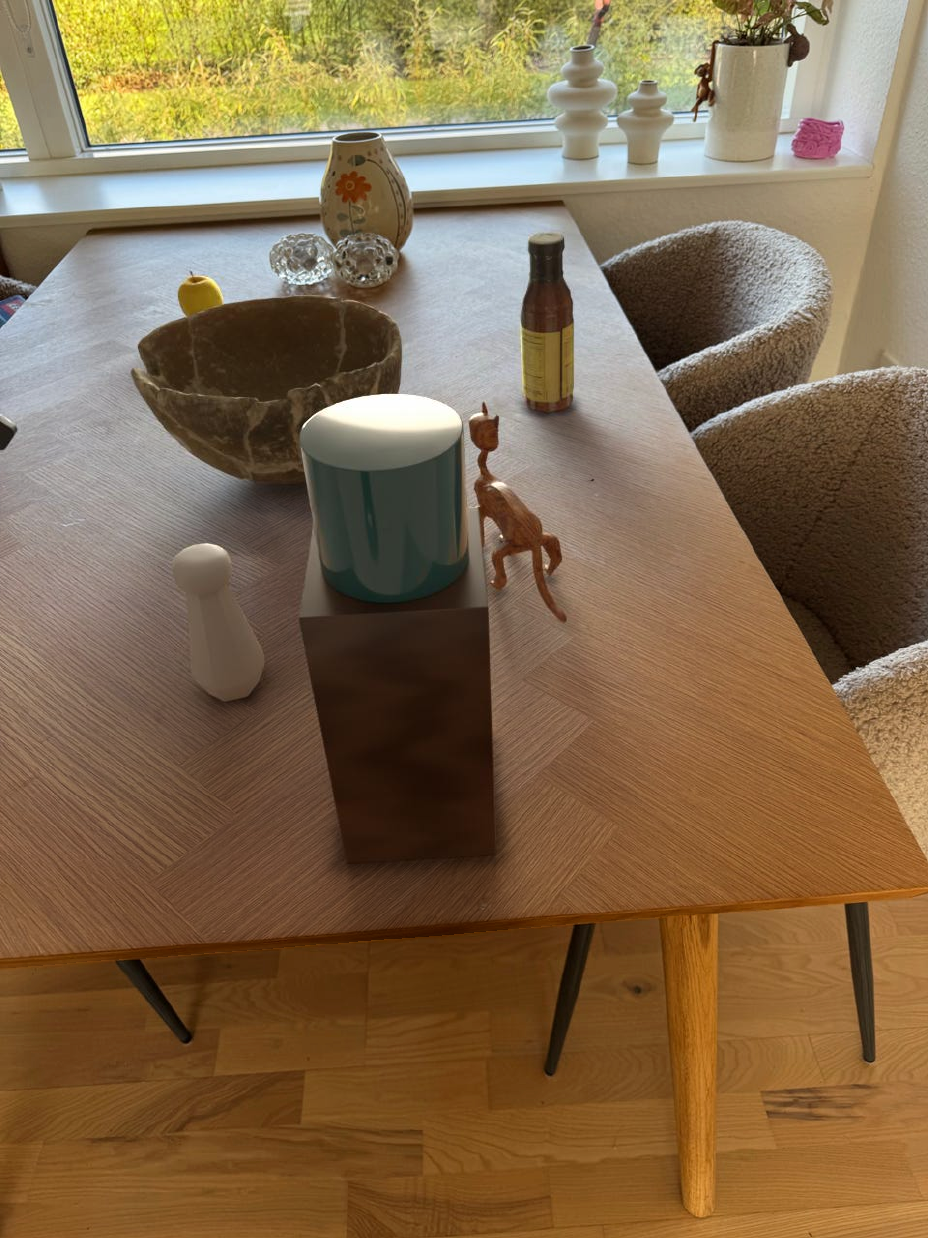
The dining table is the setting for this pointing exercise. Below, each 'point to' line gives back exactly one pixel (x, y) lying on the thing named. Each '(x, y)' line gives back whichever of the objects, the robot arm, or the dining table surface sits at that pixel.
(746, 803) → the dining table surface
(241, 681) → the salt shaker
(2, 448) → the robot arm
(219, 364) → the bowl
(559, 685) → the dining table surface
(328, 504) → the white-topped teal cylinder
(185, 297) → the apple
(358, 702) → the stand
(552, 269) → the sauce bottle
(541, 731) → the dining table surface
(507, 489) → the cat figurine
